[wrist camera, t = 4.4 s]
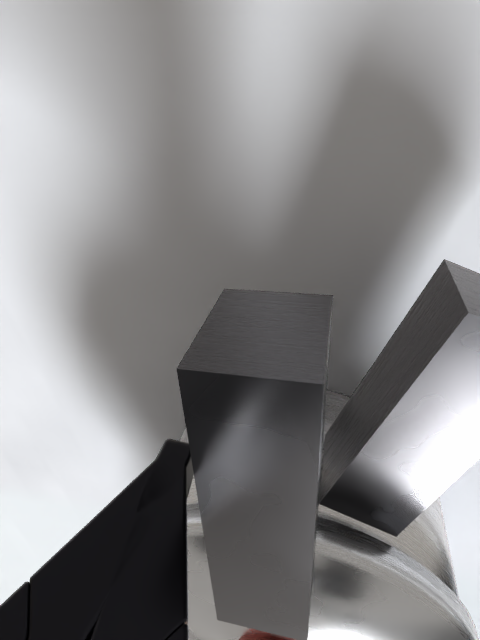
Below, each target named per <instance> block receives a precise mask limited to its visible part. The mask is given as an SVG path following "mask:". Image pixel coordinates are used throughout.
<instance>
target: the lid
mask: <svg viewBox="0 0 480 640" xmlns="http://www.w3.org/2000/svg"><path fill="white" fill-rule="evenodd" d="M332 302H333V295H318V294H301V293H284V292H267V291H250V290H233V289H224V290H223V292H222V294H221V295H220V297H219V299H218V301H217V302H216V304H215V306H214V307H213V309H212V311H211V312H210V314H209V316H208V317H207V319H206V321H205V322H204V324H203V326H202V327H201V329H200V331H199V332H198V334H197V336H196V337H195V339H194V341H193V342H192V344H191V346H190V347H189V349H188V351H187V352H186V354H185V356H184V357H183V359H182V361H181V362H180V364H179V366H178V368H177V373H178V379H179V386H180V392H181V398H182V404H183V410H184V417H185V423H186V429H187V435H188V441H189V448H190V454H191V460H192V466H193V473H194V479H195V485H196V491H197V497H198V503H197V504H191V505H187V545H188V627H189V640H478V635H477V631H476V627H475V624H474V622H473V620H472V618H471V616H470V614H469V612H468V610H467V609H466V608H465V606H464V605H463V604H462V602H461V601H460V600H459V598H458V597H457V596H456V594H455V593H454V592H453V591H452V590H451V589H450V588H449V587H448V586H447V585H446V584H444V583H443V582H442V581H441V580H440V579H439V578H438V577H437V576H436V575H434V574H433V573H432V572H430V571H429V570H428V569H427V568H425V567H424V566H423V565H421V564H420V563H419V562H417V561H416V560H414V559H412V558H411V557H409V556H407V555H406V554H404V553H403V552H401V551H399V550H398V549H396V548H394V547H393V546H390V545H388V544H386V543H384V542H382V541H380V540H378V539H376V538H374V537H372V536H370V535H368V534H366V533H363V532H361V531H358V530H356V529H353V528H351V527H348V526H346V525H343V524H340V523H338V522H335V521H331V520H328V519H325V518H321V517H318V510H319V495H320V480H321V465H322V450H323V436H324V421H325V406H326V391H327V376H328V361H329V346H330V332H331V317H332Z"/></svg>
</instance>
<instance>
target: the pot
mask: <svg viewBox="0 0 480 640" xmlns="http://www.w3.org/2000/svg"><path fill="white" fill-rule="evenodd" d="M180 441H182V442H187V443H189V441H188V435H187V429H186V428H185V430H184V432H183V434H182V436H181V438H180ZM479 458H480V274H479V273H477V272H474V271H472V270H470V269H467V268H465V267H462V266H460V265H457V264H455V263H452V262H450V261H447V260H445V259H444V260H443V262H442V263H441V265H440V266H439V268H438V269H437V271H436V272H435V273H434V275H433V276H432V278H431V279H430V281H429V282H428V284H427V285H426V287H425V288H424V290H423V291H422V293H421V294H420V296H419V297H418V299H417V300H416V302H415V303H414V304H413V306H412V307H411V309H410V310H409V312H408V313H407V315H406V316H405V318H404V319H403V321H402V322H401V324H400V325H399V327H398V328H397V330H396V331H395V333H394V334H393V335H392V337H391V338H390V340H389V341H388V343H387V344H386V346H385V347H384V349H383V350H382V352H381V353H380V355H379V356H378V358H377V359H376V361H375V362H374V364H373V365H372V366H371V368H370V369H369V371H368V372H367V374H366V375H365V377H364V378H363V380H362V381H361V383H360V384H359V386H358V387H357V389H356V390H355V392H354V393H353V395H352V396H351V397H347V396H344V395H341V394H339V393H335V392H331V391H326V406H325V421H324V436H323V450H322V465H321V480H320V495H319V510H318V517H321V518H325V519H328V520H331V521H335V522H338V523H340V524H343V525H346V526H348V527H351V528H353V529H356V530H358V531H361V532H363V533H366V534H368V535H370V536H372V537H374V538H376V539H378V540H380V541H382V542H384V543H386V544H388V545H390V546H393V547H394V548H396V549H398V550H399V551H401V552H403V553H404V554H406V555H407V556H409V557H411V558H412V559H414V560H416V561H417V562H419V563H420V564H421V565H423V566H424V567H425V568H427V569H428V570H429V571H430V572H432V573H433V574H434V575H436V576H437V577H438V578H439V579H440V580H441V581H442V582H443V583H444V584H446V585H447V586H448V587H449V588H450V589H451V590H452V591H453V592H454V593H455V594H456V596H457V597H458V598H459V596H458V591H457V586H456V580H455V575H454V570H453V565H452V560H451V554H450V549H449V544H448V539H447V534H446V528H445V523H444V518H443V513H442V508H441V502H440V497H439V496H440V495H441V494H442V493H443V492H444V491H445V490H446V489H447V488H449V487H450V486H451V485H452V484H453V483H454V482H455V481H456V480H457V479H458V478H459V477H460V476H461V475H462V474H463V473H464V472H466V471H467V470H468V469H469V468H470V467H471V466H472V465H473V464H474V463H475V462H476V461H477V460H478V459H479ZM197 503H198V497H197V491H196V485H195V479H194V475H193V479H192V484H191V487H190V491H189V494H188V498H187V505H191V504H197Z"/></svg>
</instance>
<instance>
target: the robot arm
mask: <svg viewBox="0 0 480 640" xmlns="http://www.w3.org/2000/svg"><path fill="white" fill-rule="evenodd" d="M193 475H194V473H193V466H192V460H191V454H190V448H189V443H187V442H182V441H178V440H173V439H167V440H166V441H165V443H164V444H163V446H162V448H161V450H160V452H159V454H158V456H157V458H156V460H155V461H154V462H153V463H151V464H150V465H149V466H148V467H147V468H146V469H145V470H144V471H143V472H142V473H141V474H140V475H139V476H138V477H137V478H136V479H134V480H133V481H132V482H131V483H130V484H129V485H128V486H127V487H126V488H125V489H124V490H123V491H122V492H121V493H120V494H119V495H117V496H116V497H115V498H114V499H113V500H112V501H111V502H110V503H109V504H108V505H107V506H106V507H105V508H104V509H103V510H102V511H101V512H99V513H98V514H97V515H96V516H95V517H94V518H93V519H92V520H91V521H90V522H89V523H88V524H87V525H86V526H85V527H84V528H82V529H81V530H80V531H79V532H78V533H77V534H76V535H75V536H74V537H73V538H72V539H71V540H70V541H69V542H68V543H67V544H65V545H64V546H63V547H62V548H61V549H60V550H59V551H58V552H57V553H56V554H55V555H54V556H53V557H52V558H51V559H50V560H49V561H47V562H46V563H45V564H44V565H43V566H42V567H41V568H40V569H39V570H38V571H37V572H36V573H35V574H34V575H33V576H32V577H31V578H30V583H29V582H25V583H24V584H23V585H22V586H21V587H20V588H19V589H17V590H16V591H15V592H14V593H13V594H12V595H11V596H10V597H9V598H8V599H7V600H6V601H5V602H4V603H3V604H1V605H0V640H189V627H188V545H187V498H188V494H189V491H190V487H191V484H192V479H193Z"/></svg>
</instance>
